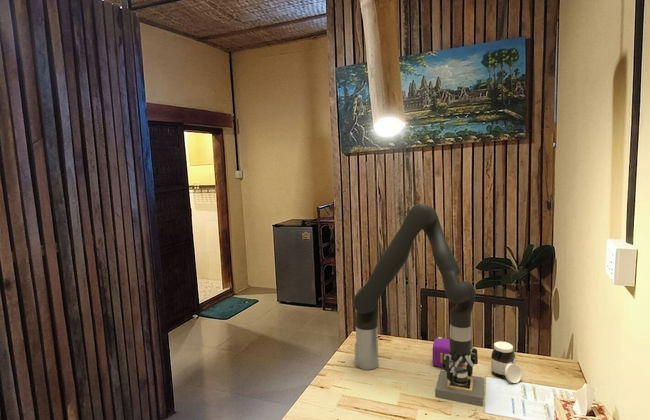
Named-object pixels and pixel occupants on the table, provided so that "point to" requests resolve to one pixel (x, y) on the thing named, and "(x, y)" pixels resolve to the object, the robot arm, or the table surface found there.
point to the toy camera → (440, 350)
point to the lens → (460, 377)
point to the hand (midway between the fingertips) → (459, 378)
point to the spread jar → (505, 362)
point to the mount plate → (461, 390)
